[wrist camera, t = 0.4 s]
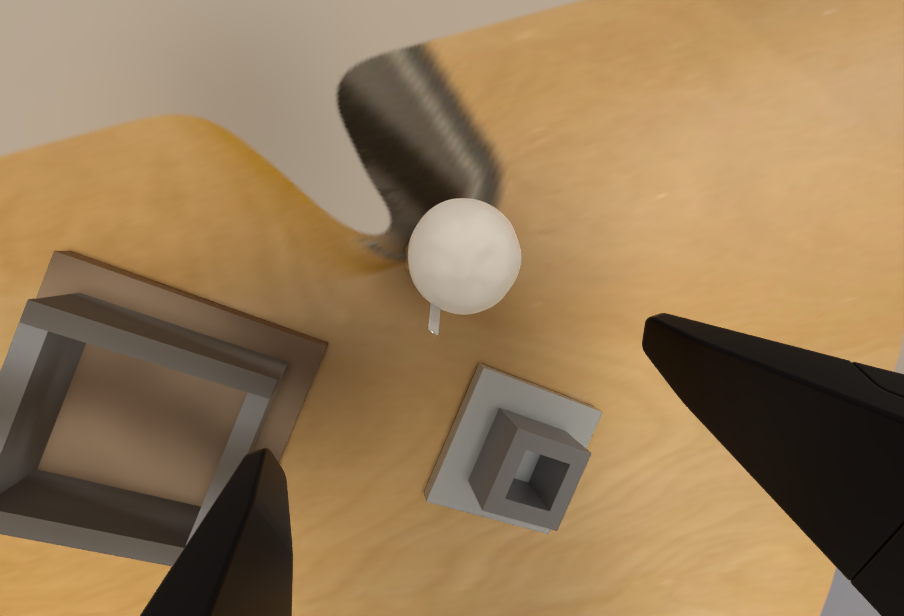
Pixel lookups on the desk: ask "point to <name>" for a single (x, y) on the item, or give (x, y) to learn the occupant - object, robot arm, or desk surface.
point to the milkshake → (462, 258)
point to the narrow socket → (513, 452)
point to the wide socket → (136, 408)
